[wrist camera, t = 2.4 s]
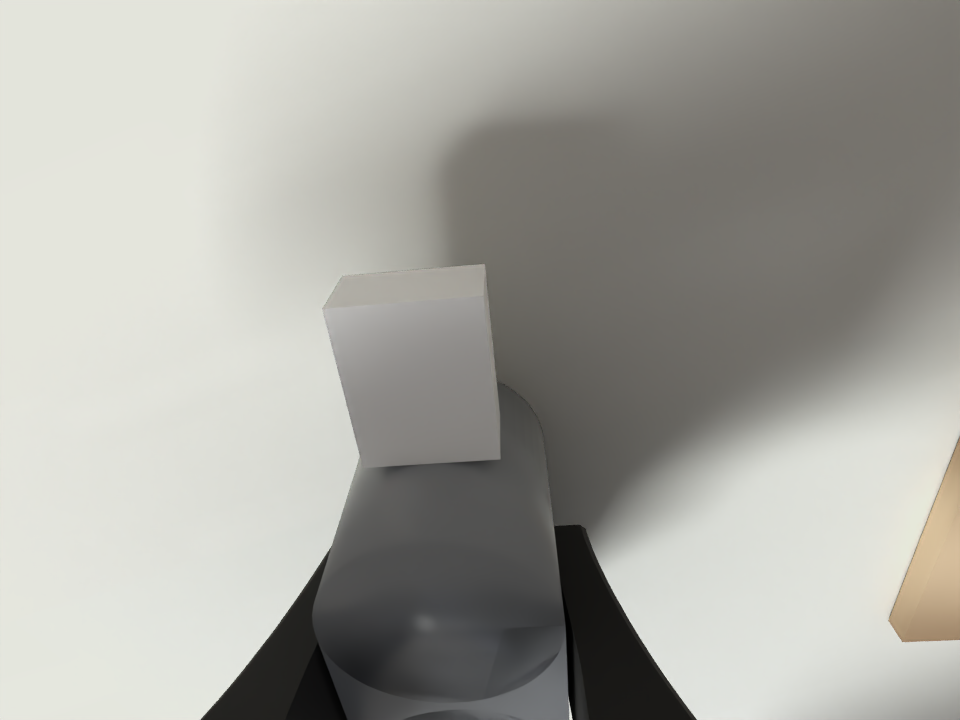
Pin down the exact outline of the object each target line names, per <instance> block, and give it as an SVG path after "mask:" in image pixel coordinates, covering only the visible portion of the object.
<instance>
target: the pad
mask: <svg viewBox="0 0 960 720" xmlns="http://www.w3.org/2000/svg"><path fill="white" fill-rule="evenodd" d="M889 622H890V624H891V625H892V627H893V628H894V630H895V631H896V633H897V634H898V636H899V637H900V639H901V640H902V642H916V641H942V640H960V438H959V441H958V443H957V446H956V449H955V451H954V454H953V456H952V459H951V461H950V464H949V467H948V469H947V472H946V474H945V477H944V479H943V482H942V484H941V487H940V490H939V492H938V495H937V497H936V500H935V502H934V505H933V508H932V510H931V513H930V515H929V518H928V520H927V523H926V526H925V528H924V531H923V533H922V536H921V538H920V541H919V544H918V546H917V549H916V551H915V554H914V556H913V559H912V562H911V564H910V567H909V569H908V572H907V574H906V577H905V579H904V582H903V585H902V587H901V590H900V592H899V595H898V597H897V600H896V603H895V605H894V608H893V610H892V613H891V615H890V618H889Z"/></svg>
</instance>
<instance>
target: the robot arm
mask: <svg viewBox="0 0 960 720" xmlns="http://www.w3.org/2000/svg"><path fill="white" fill-rule="evenodd" d="M554 532H555V540H556V549H557V557H558V566H559V575H560V583H561V592H562V600H563V609H564V618H565V627H566V652H567V677H568V697H569V702H570V708H571V713H572V718H573V720H697V719H696V718H695V717H694V715H693V714H692V713H691V712H690V710H689V709H688V708H687V706H686V705H685V704H684V702H683V701H682V699H681V698H680V697H679V695H678V694H677V693H676V691H675V690H674V688H673V687H672V686H671V684H670V683H669V681H668V680H667V679H666V677H665V676H664V674H663V673H662V671H661V670H660V668H659V667H658V665H657V664H656V662H655V661H654V659H653V658H652V656H651V655H650V653H649V652H648V650H647V648H646V647H645V645H644V644H643V642H642V641H641V639H640V638H639V636H638V634H637V633H636V631H635V629H634V628H633V626H632V624H631V623H630V621H629V619H628V618H627V616H626V614H625V612H624V610H623V609H622V607H621V605H620V603H619V602H618V600H617V598H616V596H615V595H614V593H613V591H612V589H611V587H610V585H609V583H608V581H607V579H606V577H605V575H604V573H603V571H602V569H601V567H600V565H599V563H598V560H597V558H596V556H595V554H594V551H593V549H592V546H591V544H590V541H589V538H588V536H587V532H586V529H585V528H584V527H582V526H581V525H567V526H554ZM331 547H332V546H331ZM330 550H331V548H330V549H329V551H328V553H327V554H326V556H325V557H324V559H323V560H322V562H321V563H320V565H319V566H318V568H317V569H316V571H315V573H314V574H313V576H312V577H311V579H310V580H309V582H308V583H307V584H306V586H305V587H304V589H303V590H302V592H301V593H300V595H299V596H298V598H297V599H296V601H295V602H294V603H293V605H292V606H291V608H290V609H289V610H288V612H287V613H286V615H285V616H284V617H283V619H282V620H281V622H280V623H279V624H278V626H277V627H276V629H275V630H274V631H273V633H272V634H271V635H270V637H269V638H268V639H267V640H266V642H265V643H264V644H263V646H262V647H261V648H260V649H259V651H258V652H257V653H256V655H255V656H254V657H253V658H252V660H251V661H250V662H249V664H248V665H247V666H246V667H245V669H244V670H243V671H242V672H241V674H240V675H239V676H238V677H237V678H236V680H235V681H234V682H233V683H232V684H231V686H230V687H229V688H228V689H227V690H226V692H225V693H224V694H223V695H222V696H221V697H220V698H219V700H218V701H217V702H216V703H215V704H214V705H213V706H212V707H211V709H210V710H209V711H208V712H207V713H206V714H205V715H204V716H203V718H202V719H201V720H347V717H346V714H345V712H344V709H343V707H342V704H341V701H340V699H339V696H338V693H337V691H336V688H335V685H334V683H333V680H332V678H331V675H330V672H329V670H328V667H327V664H326V662H325V659H324V656H323V654H322V651H321V649H320V646H319V643H318V641H317V638H316V635H315V631H314V628H313V620H312V612H313V605H314V601H315V598H316V595H317V592H318V589H319V586H320V582H321V579H322V576H323V573H324V570H325V566H326V563H327V560H328V557H329V554H330Z"/></svg>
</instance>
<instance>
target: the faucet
mask: <svg viewBox="0 0 960 720" xmlns="http://www.w3.org/2000/svg"><path fill="white" fill-rule="evenodd" d="M322 310H323V313H324V317H325V321H326V325H327V329H328V333H329V337H330V341H331V345H332V349H333V352H334V356H335V360H336V364H337V368H338V372H339V376H340V380H341V384H342V388H343V391H344V395H345V399H346V403H347V407H348V411H349V415H350V419H351V423H352V427H353V430H354V434H355V438H356V442H357V446H358V450H359V454H360V458H359V461H358V464H357V468H356V471H355V474H354V477H353V480H352V484H351V487H350V490H349V493H348V496H347V499H346V503H345V506H344V509H343V512H342V515H341V519H340V522H339V525H338V528H337V531H336V535H335V538H334V541H333V544H332V547H331V550H330V554H329V557H328V560H327V563H326V566H325V570H324V573H323V576H322V579H321V582H320V586H319V589H318V592H317V595H316V598H315V601H314V605H313V612H312V620H313V628H314V631H315V635H316V638H317V641H318V643H319V646H320V649H321V651H322V654H323V656H324V659H325V662H326V664H327V667H328V670H329V672H330V675H331V678H332V680H333V683H334V685H335V688H336V691H337V693H338V696H339V699H340V701H341V704H342V707H343V709H344V712H345V714H346V717H347V720H569V702H568V677H567V652H566V627H565V618H564V609H563V600H562V592H561V583H560V575H559V566H558V557H557V549H556V540H555V532H554V523H553V515H552V506H551V497H550V489H549V480H548V472H547V463H546V454H545V446H544V438H543V432H542V428H541V425H540V422H539V420H538V418H537V416H536V414H535V413H534V411H533V410H532V408H531V407H530V406H529V405H528V403H527V402H526V401H525V400H524V399H523V398H522V397H521V396H519V395H518V394H517V393H516V392H515V391H513V390H512V389H510V388H508V387H507V386H505V385H504V384H501V383H499V382H497V380H496V370H495V360H494V349H493V339H492V329H491V319H490V309H489V299H488V289H487V279H486V269H485V264H476V265H464V266H452V267H440V268H429V269H417V270H405V271H394V272H382V273H370V274H359V275H347V276H342V277H341V279H340V281H339V282H338V284H337V286H336V287H335V289H334V291H333V292H332V294H331V296H330V297H329V299H328V300H327V302H326V304H325V305H324V307H323V309H322Z"/></svg>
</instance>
